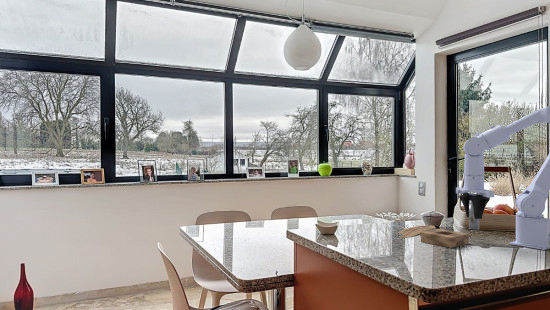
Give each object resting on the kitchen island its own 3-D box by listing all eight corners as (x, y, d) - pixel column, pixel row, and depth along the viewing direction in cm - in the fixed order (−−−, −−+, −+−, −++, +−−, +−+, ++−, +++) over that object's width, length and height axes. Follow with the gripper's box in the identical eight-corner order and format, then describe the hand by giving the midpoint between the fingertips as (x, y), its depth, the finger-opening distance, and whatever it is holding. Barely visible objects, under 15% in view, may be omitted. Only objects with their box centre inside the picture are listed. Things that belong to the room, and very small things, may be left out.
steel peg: (481, 229, 127) (481, 200, 127) (476, 230, 126) (476, 201, 126) (471, 227, 130) (471, 199, 130) (467, 228, 128) (467, 200, 128)
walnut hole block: (468, 243, 124) (468, 233, 124) (450, 247, 118) (450, 237, 118) (438, 238, 132) (439, 228, 132) (420, 241, 126) (420, 232, 126)
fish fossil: (416, 241, 129) (415, 237, 129) (385, 239, 135) (385, 236, 135) (439, 228, 149) (439, 225, 149) (412, 227, 155) (412, 224, 155)
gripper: (448, 174, 134) (448, 215, 134) (480, 176, 120) (480, 222, 120) (466, 174, 136) (466, 214, 136) (499, 176, 121) (499, 221, 121)
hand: (474, 218), depth 128 cm, fingers closed on steel peg, 3 cm apart
